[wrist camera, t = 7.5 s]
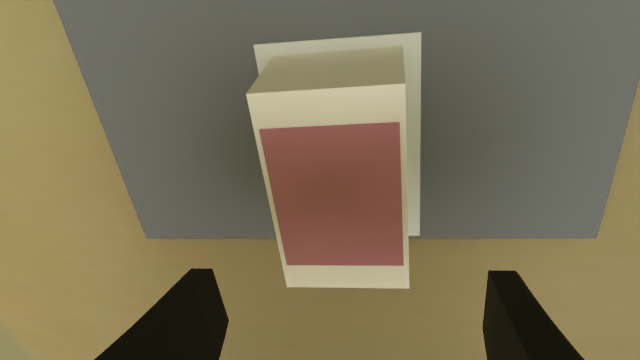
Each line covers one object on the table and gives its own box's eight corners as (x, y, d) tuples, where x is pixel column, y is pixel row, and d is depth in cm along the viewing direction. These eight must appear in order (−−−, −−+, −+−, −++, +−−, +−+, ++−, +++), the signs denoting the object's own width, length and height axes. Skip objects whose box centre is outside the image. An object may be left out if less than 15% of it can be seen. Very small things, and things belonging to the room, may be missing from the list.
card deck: (402, 45, 17) (405, 84, 14) (406, 226, 21) (409, 289, 18) (273, 55, 18) (245, 94, 14) (302, 227, 22) (286, 287, 19)
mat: (591, 230, 21) (597, 239, 20) (151, 231, 25) (145, 239, 24) (734, -326, 12) (752, -338, 11) (-9, -190, 15) (-25, -193, 15)
